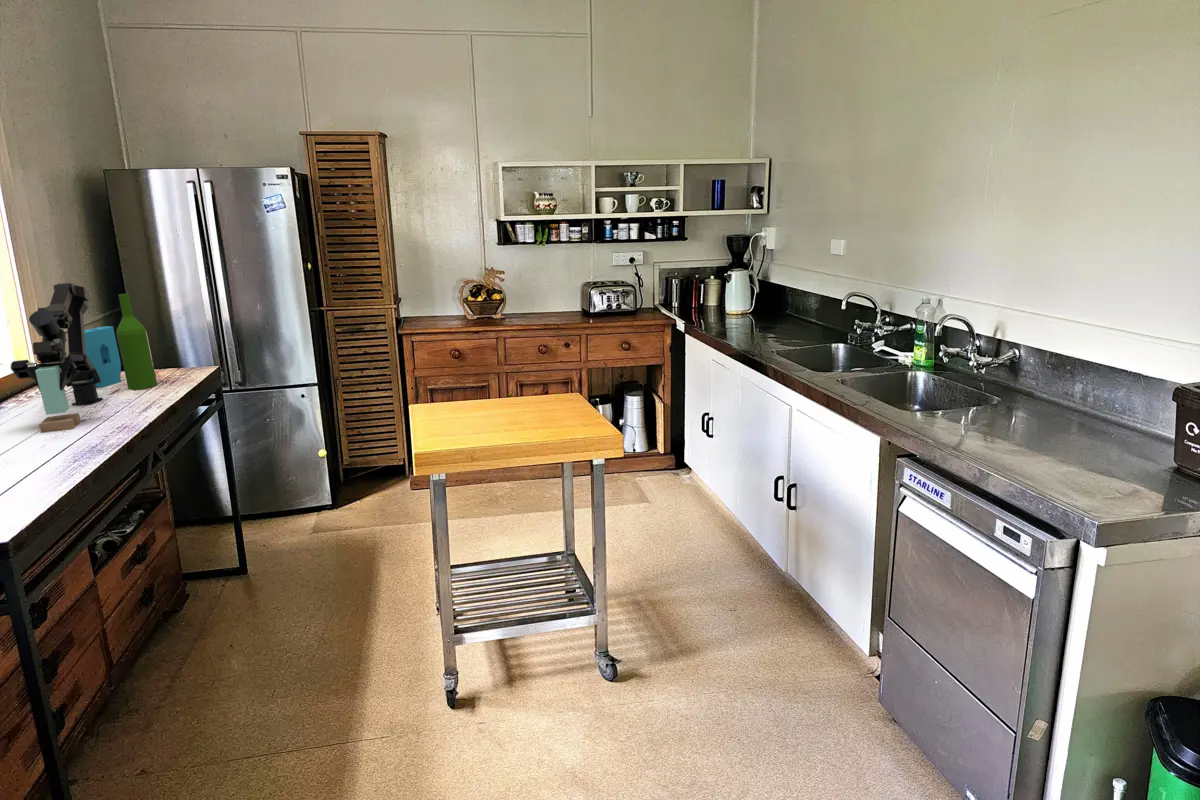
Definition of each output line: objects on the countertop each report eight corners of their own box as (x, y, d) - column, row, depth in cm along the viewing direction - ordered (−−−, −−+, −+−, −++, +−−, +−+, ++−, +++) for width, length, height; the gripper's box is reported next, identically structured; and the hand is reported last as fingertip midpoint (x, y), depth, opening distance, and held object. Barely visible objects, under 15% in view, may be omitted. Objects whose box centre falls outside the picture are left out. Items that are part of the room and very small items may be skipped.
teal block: (51, 410, 225) (40, 367, 221) (69, 408, 226) (58, 365, 223) (46, 414, 220) (35, 370, 217) (64, 412, 222) (54, 368, 218)
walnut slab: (50, 426, 227) (47, 416, 226) (81, 422, 230) (79, 413, 229) (41, 434, 220) (38, 424, 219) (73, 430, 222) (71, 420, 221)
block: (97, 389, 270) (84, 332, 265) (86, 388, 271) (73, 332, 266) (126, 380, 281) (114, 326, 276) (115, 380, 282) (103, 326, 277)
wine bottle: (162, 385, 271) (143, 292, 262) (136, 391, 264) (116, 296, 255) (149, 382, 276) (130, 292, 267) (123, 388, 269) (102, 295, 260)
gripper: (4, 333, 218) (-1, 379, 211) (80, 326, 224) (78, 371, 217) (20, 355, 227) (17, 400, 220) (93, 348, 233) (92, 392, 226)
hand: (51, 390), depth 220 cm, fingers closed on teal block, 4 cm apart
